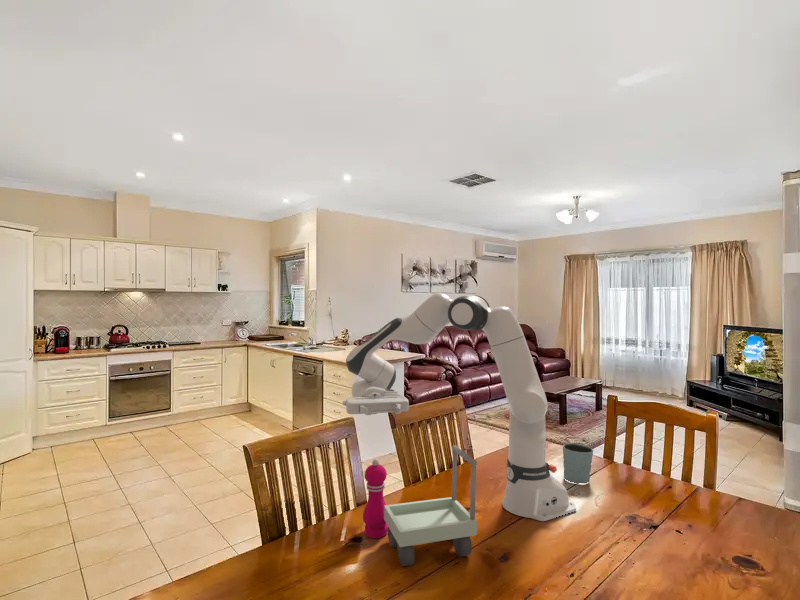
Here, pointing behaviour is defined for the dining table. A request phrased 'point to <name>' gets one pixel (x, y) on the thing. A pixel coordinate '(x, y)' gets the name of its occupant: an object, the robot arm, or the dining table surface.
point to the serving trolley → (433, 519)
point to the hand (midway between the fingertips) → (383, 411)
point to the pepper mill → (375, 501)
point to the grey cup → (577, 462)
